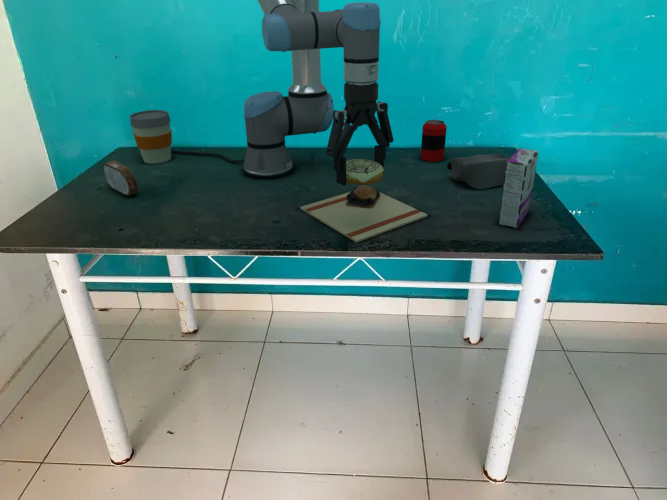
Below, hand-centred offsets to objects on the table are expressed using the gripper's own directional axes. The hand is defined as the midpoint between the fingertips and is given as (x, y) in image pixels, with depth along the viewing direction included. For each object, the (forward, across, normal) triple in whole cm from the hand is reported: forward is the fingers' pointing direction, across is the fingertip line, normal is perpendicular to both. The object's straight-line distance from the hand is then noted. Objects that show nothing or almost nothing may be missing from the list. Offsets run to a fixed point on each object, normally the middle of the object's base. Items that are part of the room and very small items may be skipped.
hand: (360, 178), depth 123 cm
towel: (+12, +5, +5) cm, 14 cm away
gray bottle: (+12, +46, +1) cm, 47 cm away
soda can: (+12, +50, +24) cm, 56 cm away
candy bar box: (+12, +32, -21) cm, 41 cm away
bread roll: (+12, +10, +11) cm, 19 cm away
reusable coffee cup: (+12, -22, +81) cm, 85 cm away
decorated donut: (0, 0, 0) cm, 0 cm away
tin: (+12, -40, +59) cm, 73 cm away
